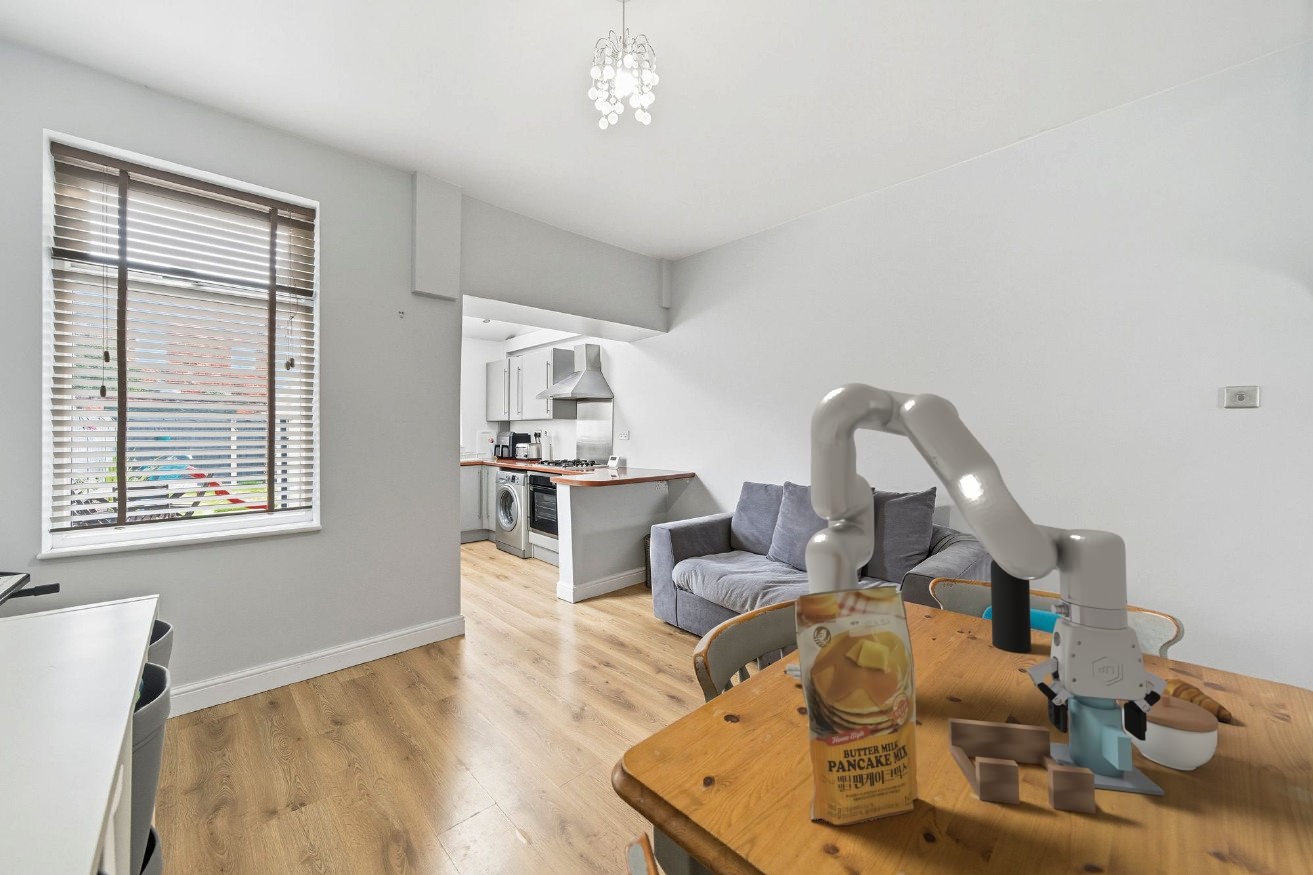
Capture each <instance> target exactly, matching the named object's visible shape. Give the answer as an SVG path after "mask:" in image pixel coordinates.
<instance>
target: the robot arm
mask: <svg viewBox="0 0 1313 875" xmlns="http://www.w3.org/2000/svg"><path fill="white" fill-rule="evenodd" d="M812 413H813V414H812V417H811V421H810V502H811V503H810V504H811V507H812V509H813V512H814V513H815V514H816V515H817V516H818V517H819V518H821V519H823V520H824V521H827V527H826V528H823V529H821V530H819V531H817V532H816V533H814V534H813V535H812V536H811V538H810V539H809V540H808V542H807V544H806V548H805V554H804V560H805V567H806V573H807V580H808V591H809V594H813V593H819V592H827V591H835V590H843V589H860V584H859V579H858V570H859V569H861V568H862V567H865V565H866V564H868V562H869V561H870V560H871V558H872V556H873V554H874V549H875V507H874V506H875V500H874V492H873V490H872V486H871V485H870V484H869V482H868V480H867V479H866V478H865V477H864V476H862V475H861V474H858V473H857V447H856V442H855V432H856V430H858V429H862V430H869V431H877V432H882V433H887V434H891V435H897V436H901V437H906V438H908V440H909V441H910V442H911V444H912V445H913V447H914V448H915V449H916V450H917V452H918V453H919V454H920V455H921V457H922V458H923V459H924V461H925V462H926V464H927V465H928V466H929V467H930V469H931V470H932V472H933V473H934V474H935V476H937V478H938V479H939V481H940V482H941V483H942V485H943V486H944V488H945V490H946V492H947V493H948V495H949V497H950V498H951V500H952V501H953V503H954V504H955V506H956V508H957V509H958V511H959V512H960V514H961V515H962V517H963V518H964V520H965V522H966V523H967V525H968V526H969V528H970V529H971V531H972V532H973V534H974V535H975V537H976V538H977V539H978V541H979V542H980V543H981V544H982V546H983V547H984V548H985V550H986V551H987V552H988V553H989V556H991V558H992V560H993V559H994V560H995V561H996V562H997V564H998V565H999V566H1000V567H1001V568H1002V569H1003V570H1005V571H1006V572H1007V573H1009V574H1010V575H1012V576H1014V577H1017V578H1019V579H1024V580H1029V581H1036V580H1041V579H1043V578H1045V577H1047V576H1049V574H1051V573H1052V572H1053V571H1058V573H1059V594H1060V598H1059V599H1058V602H1059V603H1057V604H1051V606H1050V610H1051V613H1052V614H1054V615H1059V618H1056V621H1055V623H1054V628H1053V632H1052V637H1051V643H1050V644H1051V646H1050V659H1046V660H1045V661H1042V662H1040V663H1037V664H1033V665H1031V666H1029V667H1027V669H1026V672H1027V674H1028V676H1029V677H1030V679H1031V681H1032V682H1033V685H1034V686H1035V687H1036V689H1038V690H1039V691H1040V692H1041V693H1042V694H1043V695H1044V697H1046V698H1047V718H1048V720H1049V722H1050V723H1051V724H1052V726H1054V727H1055V728H1056V729H1057V730H1058V731H1059V732H1060V733H1061V734H1067V733H1069V716H1068V710H1067V707H1066V705H1065V700H1066V699H1067V698H1068V697H1069V696H1070V695H1071V694H1072V695H1075V696H1078V697H1086V698H1097V699H1110V700H1116V701H1118V700H1123V701H1128V702H1125V704H1124V726H1125V729H1126V730H1127V731H1128V732H1129V733H1131V734H1132V735H1133V736H1135V737H1136V738H1137V739H1139V740H1142V741H1145V740H1146V738H1145V732H1146V731H1147V717H1146V713H1149V712H1150V711H1151V706H1153V705H1154V704H1155V703H1156V702H1158V701H1159V700H1160V698H1161V697H1160V694H1162V693H1163V691H1164V689H1165V688H1166V686H1167V682H1166V681H1165V679H1163V678H1162V677H1160V676H1158V675H1156V674H1154V673H1152V672H1150V671H1148V670H1146V669H1145V666H1144V665H1145V664H1144V660H1143V655H1142V654H1143V653H1142V650H1141V644H1140V641H1139V637H1138V635H1137V631H1136V630H1135V628H1133V627H1131V626H1128V625H1129V623H1128V622H1129V620H1128V618H1129V617H1128V616H1129V615H1128V589H1127V587H1128V585H1127V561H1126V560H1127V556H1126V555H1127V554H1126V553H1127V552H1126V544H1125V541H1124V539H1123V537H1121V535H1119V534H1117V533H1114V532H1109V531H1106V530H1105V531H1104V530H1097V529H1089V528H1088V529H1085V528H1084V529H1083V528H1081V529H1080V528H1078V529H1077V528H1076V529H1075V528H1074V529H1073V528H1071V529H1066V528H1060V527H1054V526H1047V525H1044V524H1037V523H1034V521H1032V519H1031V518H1030V517H1029V516H1028V515H1027V513H1026V512H1025V511H1024V509H1023V508H1022V507H1021V506H1020V505H1019V503H1018V502H1017V500H1016V499H1015V498H1014V496H1013V495H1012V493H1011V492H1010V490H1009V489H1008V487H1007V485H1006V483H1005V482H1004V479H1003V477H1002V475H1001V472H1000V469H999V466H998V465H997V463H996V461H995V460H994V458H993V457H992V455H990V453H989V452H988V451H987V450H986V449H985V447H984V446H983V445H982V444H981V442H979V441H978V438H976V436H974V434H973V433H972V432H971V430H969V428H968V427H967V426H966V424H965V423H964V422H963V420H962V419H961V418H960V415H959V412H958V409H957V408H956V406H955V405H954V403H952V402H951V401H950V400H949V399H946V398H945V397H941V396H939V395H936V394H934V393H919V394H914V393H913V394H912V393H907V392H900V391H893V390H886V389H884V388H883V389H882V388H878V387H875V386H872V385H869V384H867V383H866V384H865V383H863V382H862V383H861V382H852V383H845V384H842V385H840V386H838V387H836V388H834V389H832V390H831V391H829V392H828V393H826V394H825V395H824V396H823V397H822V398H821V399H820V400H819V402H818V403H817V404H816V407H815V408H814V410H813V412H812ZM1049 674H1050V677H1051V679H1052V681H1051V682H1050V684H1048V685H1047V683H1046V682H1045V679H1044V677H1045V676H1047V675H1049ZM786 675H791V676H792V675H793V679H794V680H801V671H800V664H799V665H798V664H797V665H796V664H794V663H786ZM1146 680H1147V681H1148V684H1147V688H1146Z"/></svg>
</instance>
